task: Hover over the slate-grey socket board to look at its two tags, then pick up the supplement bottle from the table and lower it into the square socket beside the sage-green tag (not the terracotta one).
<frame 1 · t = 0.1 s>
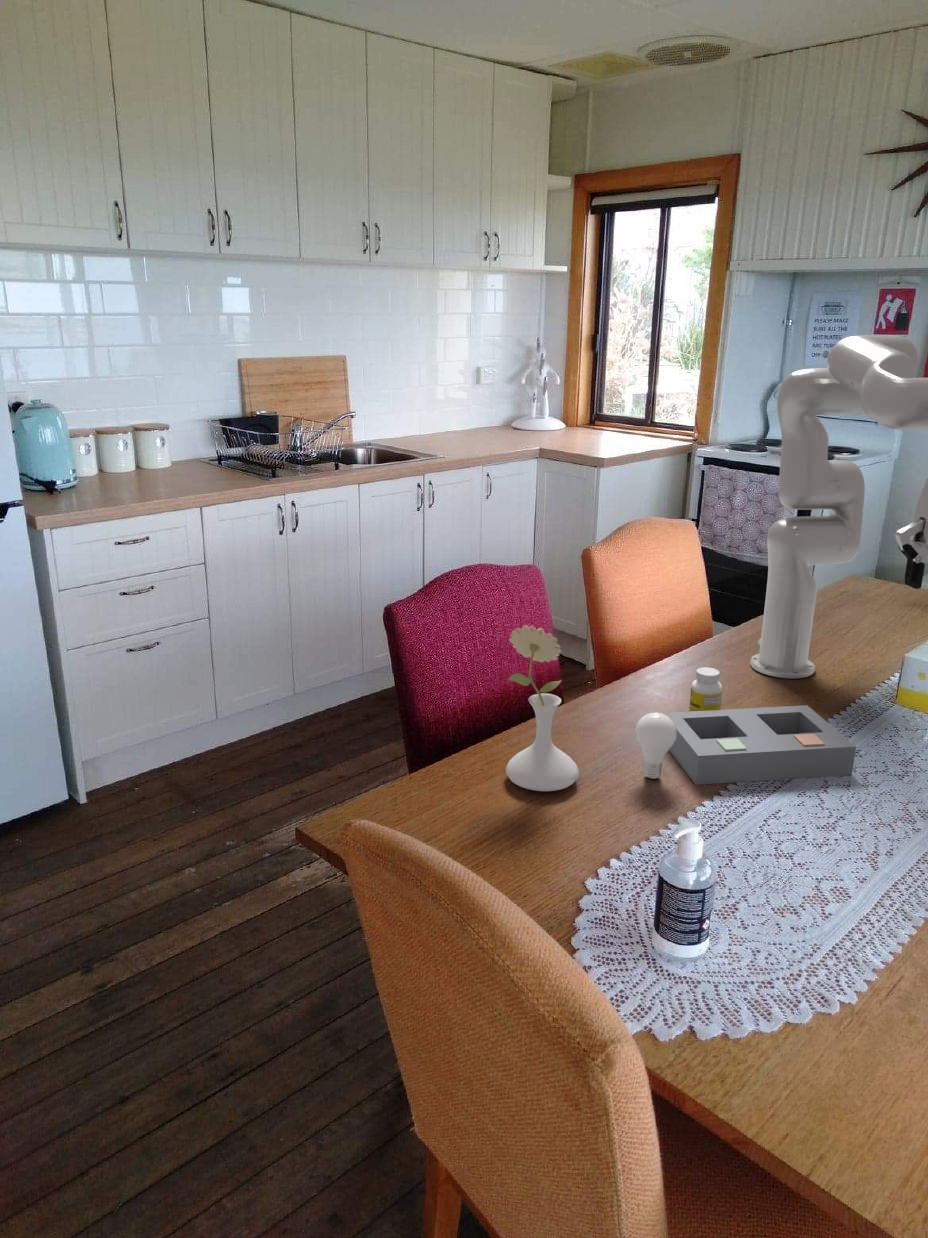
flower in vase: (537, 779, 146), on the table
lightbulb: (652, 779, 146), on the table
socket board: (752, 756, 153), on the table
supplement bottle: (703, 722, 166), on the table
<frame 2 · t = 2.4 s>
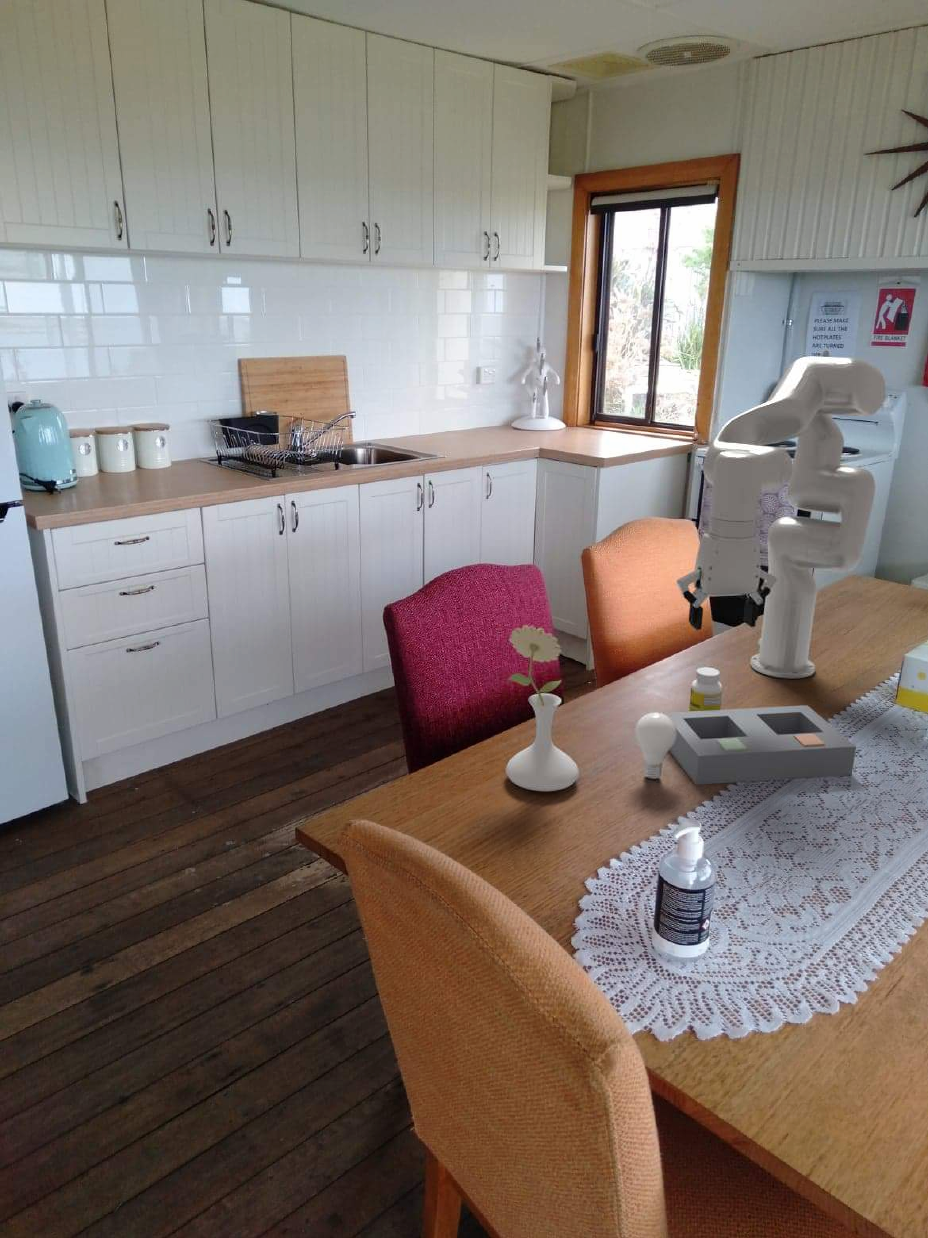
hand: (722, 625, 158), 19 cm above the table, tool pointing down, fingers open, 9 cm apart
nothing on the table moved.
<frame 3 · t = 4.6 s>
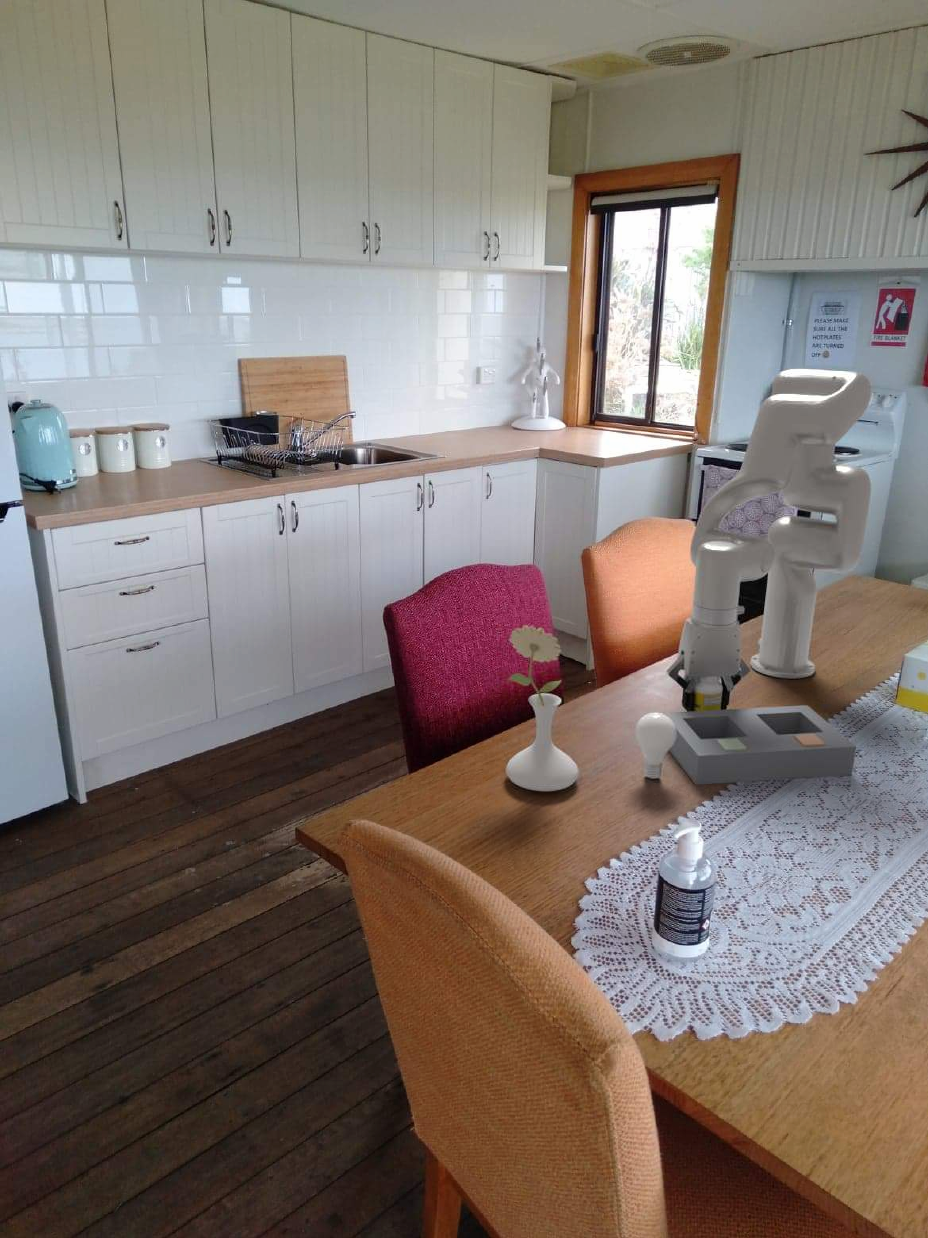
hand: (704, 708, 165), 3 cm above the table, tool pointing down, fingers closed on supplement bottle, 5 cm apart
supplement bottle: (703, 722, 166), on the table, touching gripper
everything else where it was.
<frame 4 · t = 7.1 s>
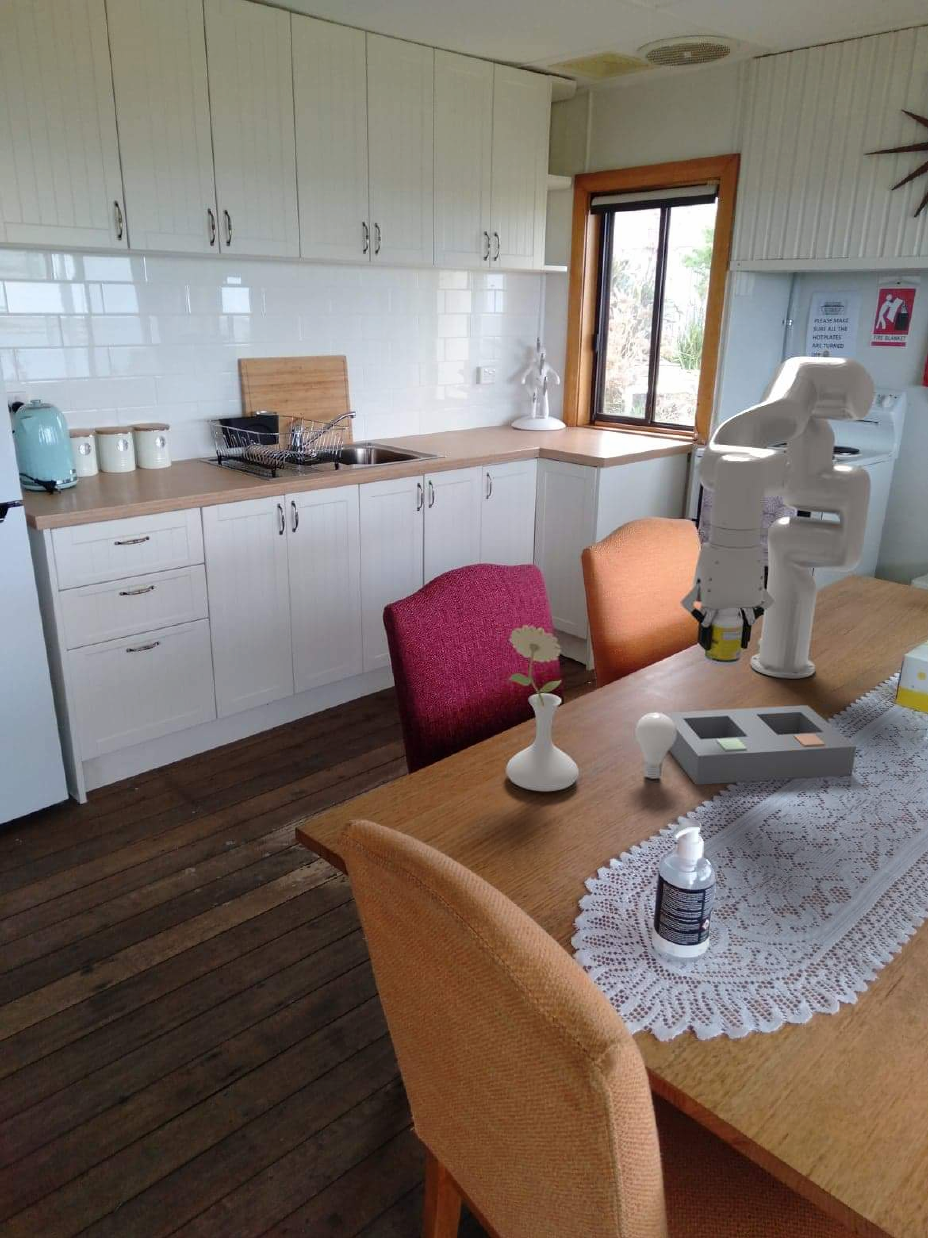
hand: (723, 645, 148), 19 cm above the table, tool pointing down, fingers closed on supplement bottle, 5 cm apart
supplement bottle: (721, 661, 149), point 17 cm above the table, touching gripper
everything else where it was.
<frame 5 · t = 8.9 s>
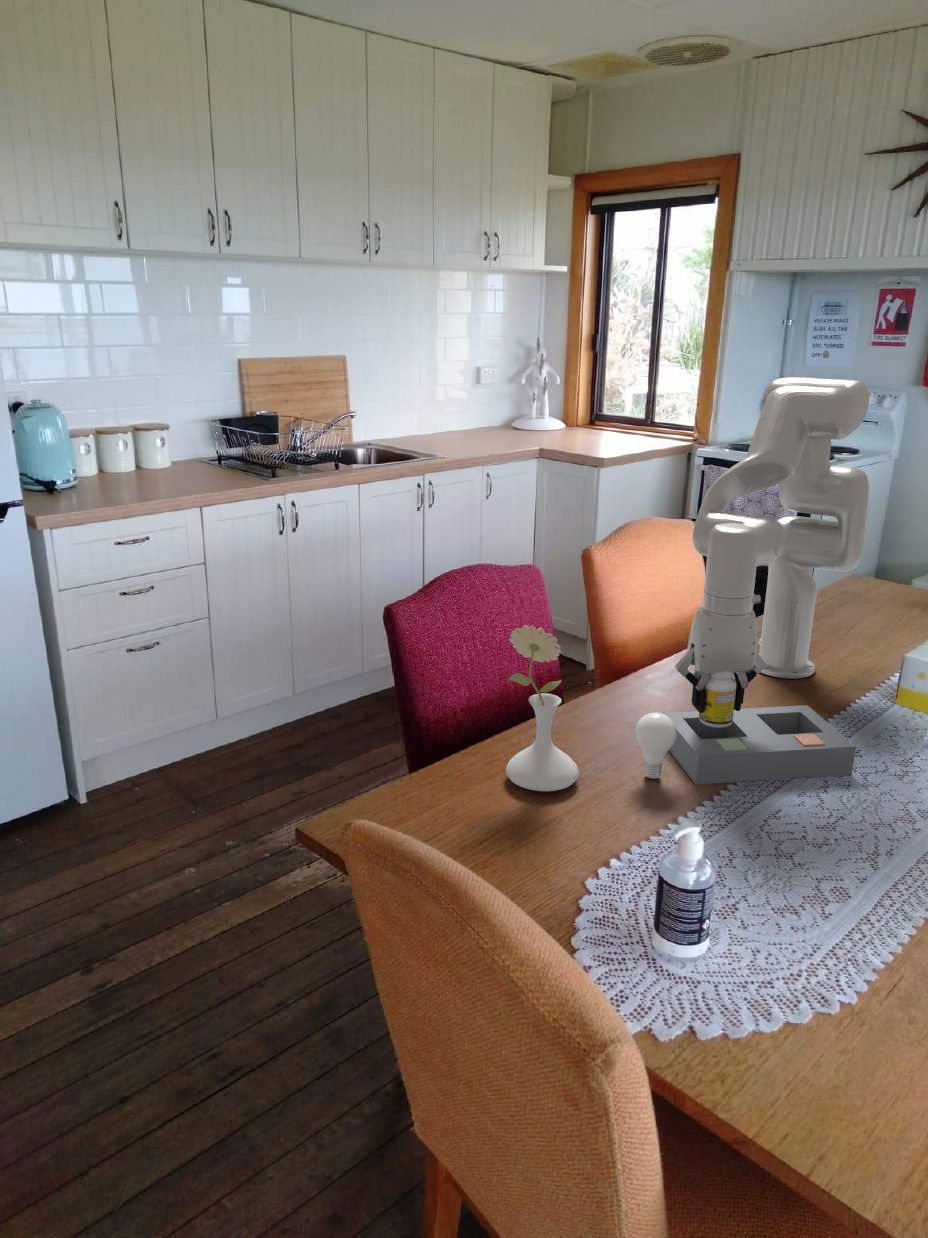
hand: (716, 707, 151), 9 cm above the table, tool pointing down, fingers closed on supplement bottle, 5 cm apart
supplement bottle: (715, 722, 152), point 6 cm above the table, touching gripper
everything else where it was.
when the fingers open (6 cm above the table, at t = 9.9 s): supplement bottle drops 2 cm, resting on socket board.
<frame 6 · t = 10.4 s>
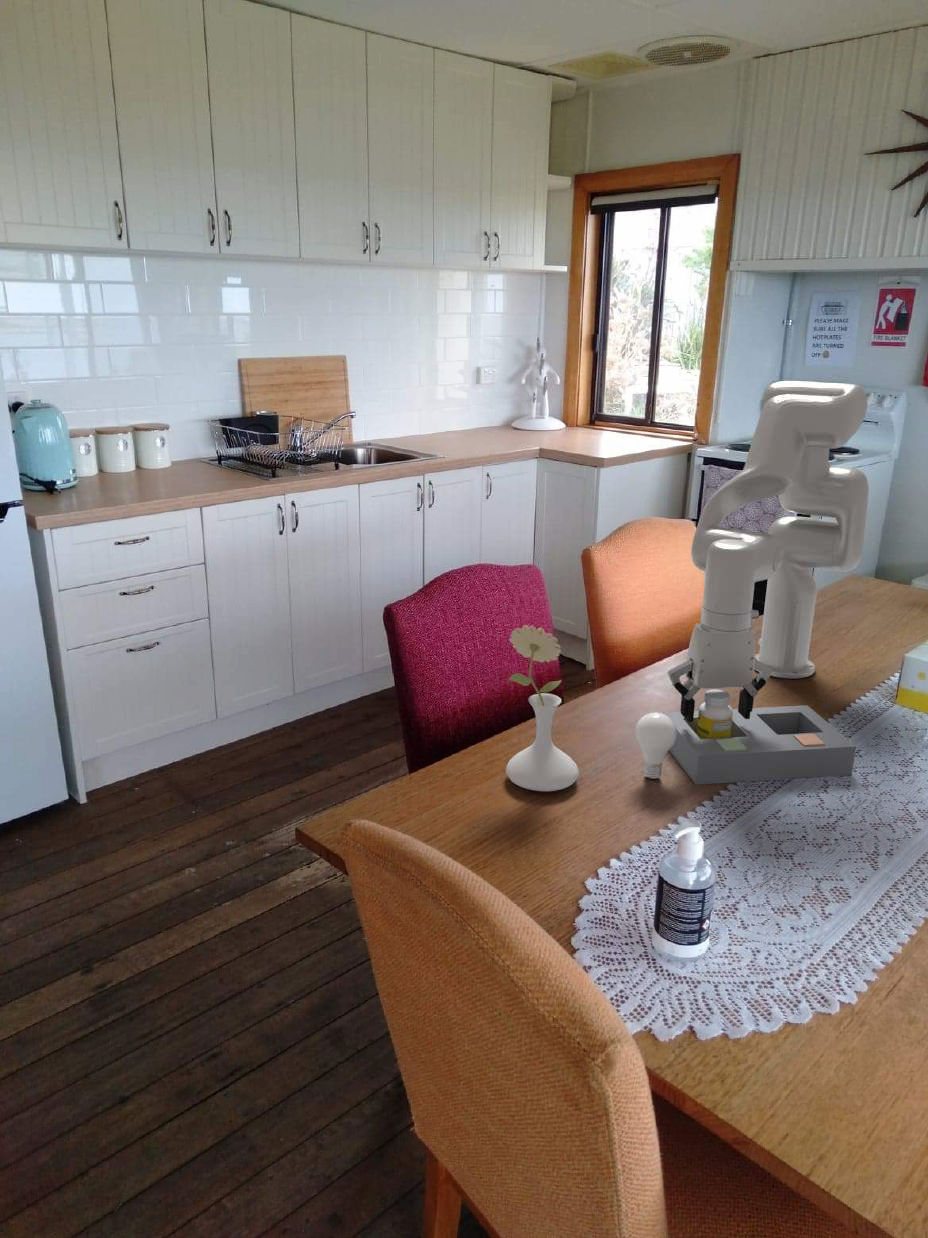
hand: (715, 717, 152), 7 cm above the table, tool pointing down, fingers open, 9 cm apart
supplement bottle: (711, 749, 154), point 1 cm above the table, touching socket board
everything else where it was.
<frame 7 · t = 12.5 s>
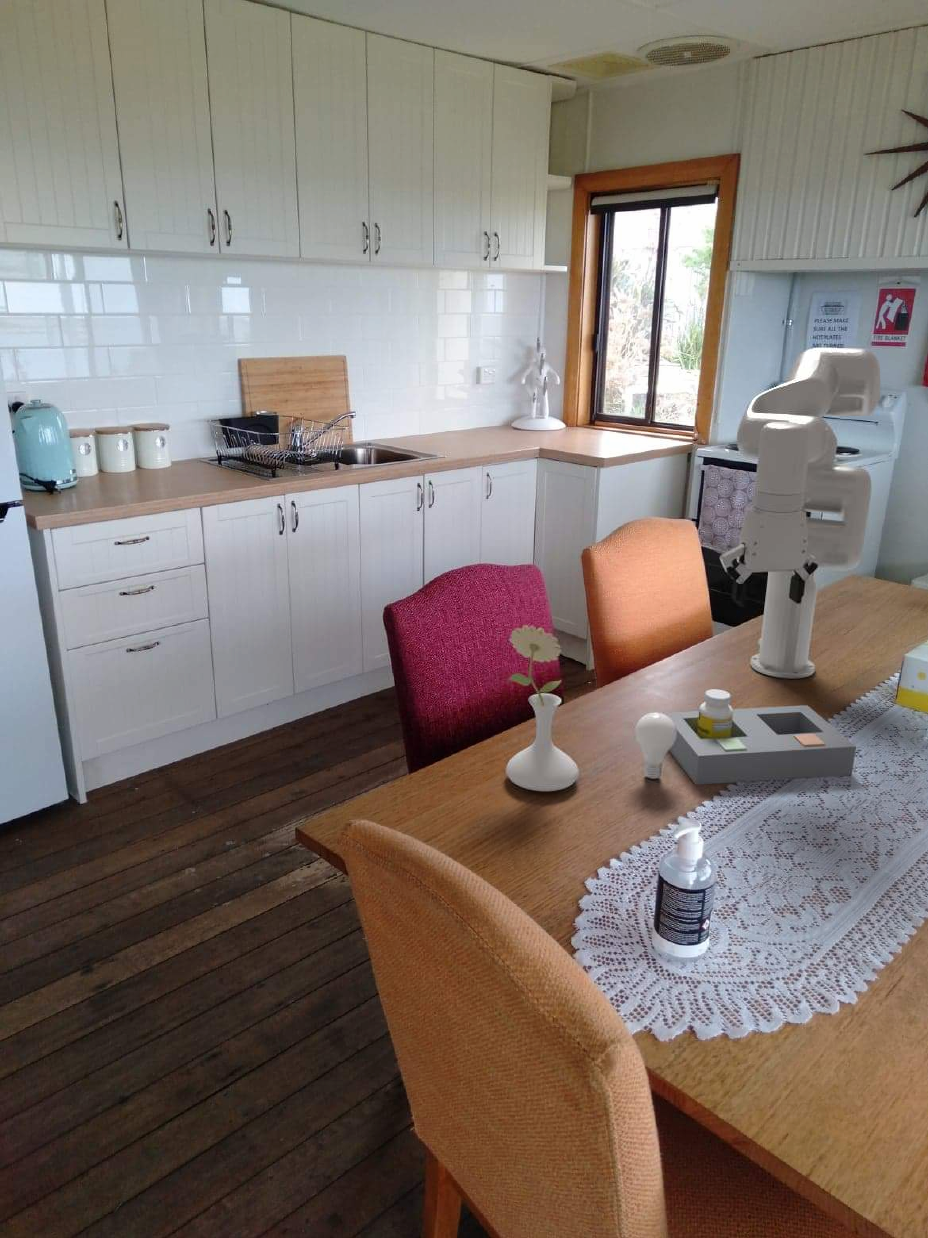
hand: (767, 602, 154), 24 cm above the table, tool pointing down, fingers open, 9 cm apart
nothing on the table moved.
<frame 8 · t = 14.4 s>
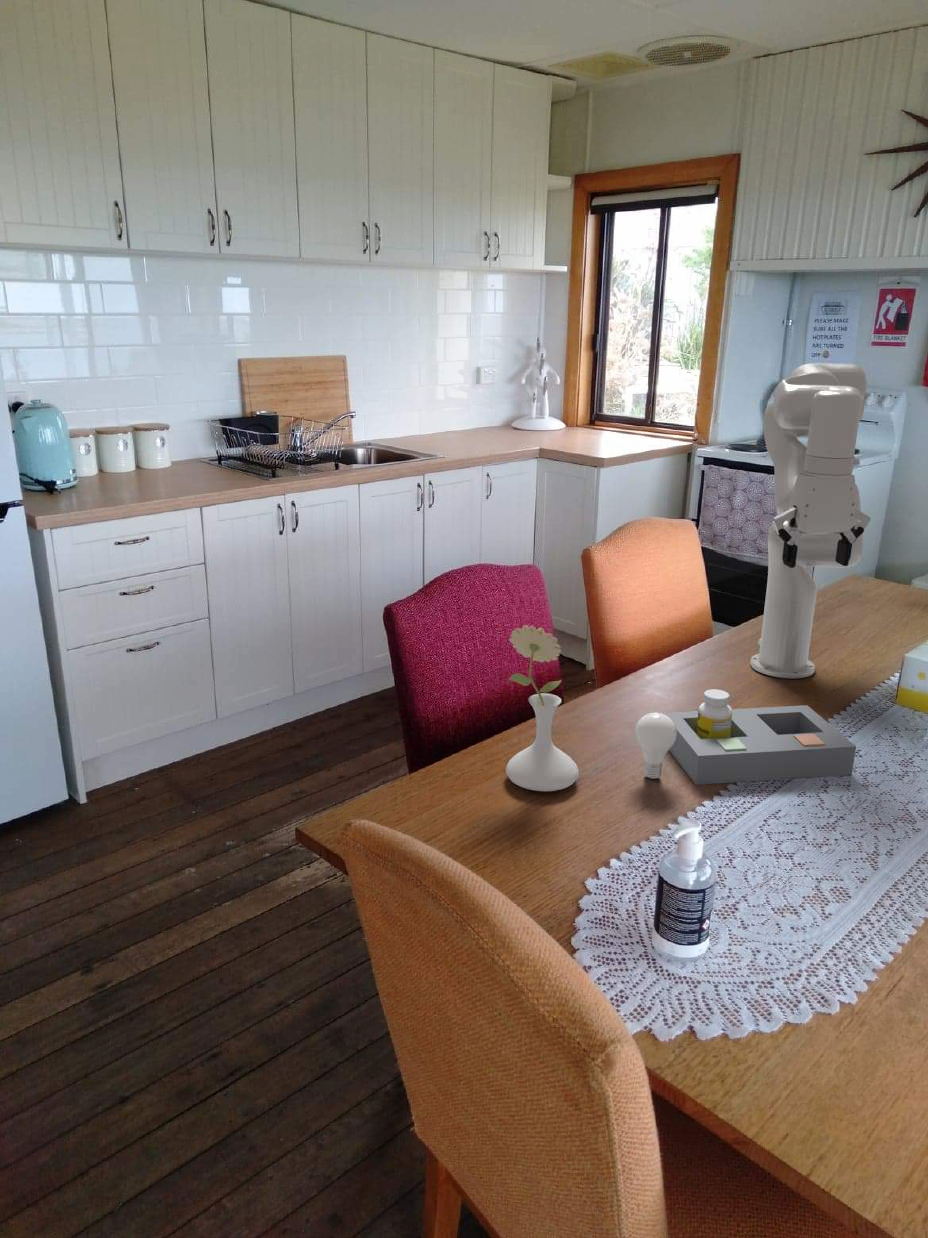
hand: (815, 564, 160), 28 cm above the table, tool pointing down, fingers open, 9 cm apart
nothing on the table moved.
at the end: supplement bottle 0.2 cm from the target spot on the socket board, point 0.9 cm above the socket board's base; supplement bottle tilted 0°; the gripper is holding nothing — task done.
